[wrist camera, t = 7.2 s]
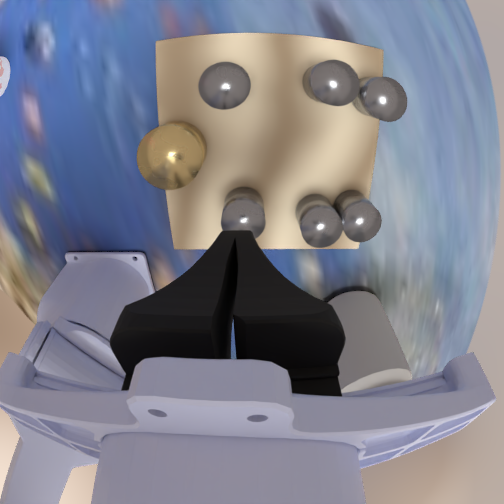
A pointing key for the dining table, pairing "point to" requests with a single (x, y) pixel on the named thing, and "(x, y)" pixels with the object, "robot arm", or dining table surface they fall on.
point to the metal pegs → (314, 205)
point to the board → (265, 132)
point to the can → (368, 344)
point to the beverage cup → (4, 74)
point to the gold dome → (171, 155)
